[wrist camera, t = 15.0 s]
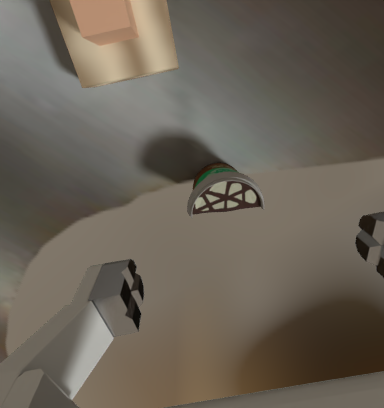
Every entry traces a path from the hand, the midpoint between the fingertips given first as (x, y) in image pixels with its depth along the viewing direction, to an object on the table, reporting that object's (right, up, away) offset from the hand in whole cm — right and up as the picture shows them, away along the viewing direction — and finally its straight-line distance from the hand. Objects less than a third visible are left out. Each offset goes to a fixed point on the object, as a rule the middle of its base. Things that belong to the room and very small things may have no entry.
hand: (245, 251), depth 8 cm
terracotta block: (-11, +24, +18) cm, 32 cm away
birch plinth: (-12, +26, +23) cm, 37 cm away
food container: (+3, +8, +34) cm, 35 cm away
